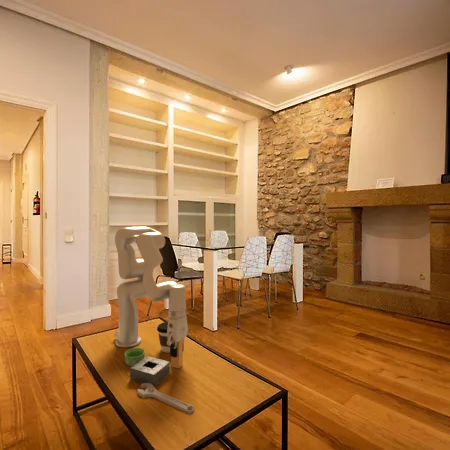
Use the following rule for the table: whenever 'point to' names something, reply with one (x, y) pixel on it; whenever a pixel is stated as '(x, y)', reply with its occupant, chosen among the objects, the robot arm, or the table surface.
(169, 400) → the adjustable wrench
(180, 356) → the orange square peg
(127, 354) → the ramekin
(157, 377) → the grey square frame
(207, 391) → the table surface
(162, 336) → the coffee cup
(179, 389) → the table surface
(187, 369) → the table surface
